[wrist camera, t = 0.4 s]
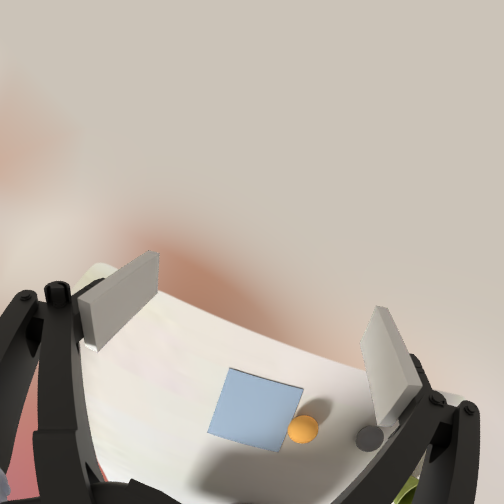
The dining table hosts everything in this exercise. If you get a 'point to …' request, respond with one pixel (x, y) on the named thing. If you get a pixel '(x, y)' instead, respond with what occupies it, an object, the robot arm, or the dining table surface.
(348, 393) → the dining table surface
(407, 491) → the plant pot
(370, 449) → the ball
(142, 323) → the dining table surface
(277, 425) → the mark
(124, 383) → the dining table surface
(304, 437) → the ball
